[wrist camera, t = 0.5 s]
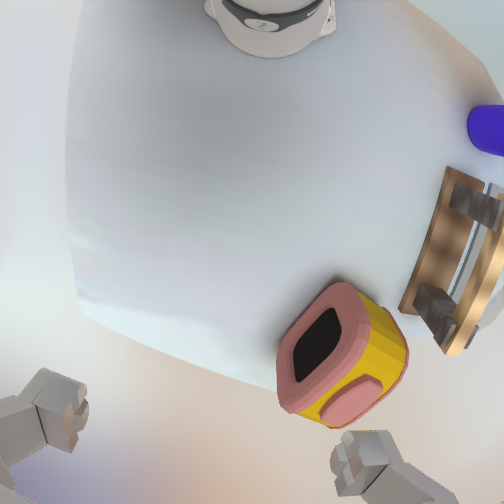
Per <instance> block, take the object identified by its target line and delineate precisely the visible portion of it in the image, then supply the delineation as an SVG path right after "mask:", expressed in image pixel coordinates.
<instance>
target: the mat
mask: <svg viewBox="0 0 504 504" xmlns="http://www.w3.org/2000/svg"><path fill="white" fill-rule="evenodd" d="M499 193H501V194H504V189H502V188H500V187H498V186H496V185H494V184H492V183H490V185H489V189H488V192H487V195H488V196H491V197H493V198H496V199H497V197H498V194H499ZM487 230H488V228H487V227H486V226H484V225H482V224H481V223H479V222H478V225H477V228H476V231H475V234H474V237H473V240H472V243H471V246H470V248H469V251H468V254H467V256H466V259H465V261H464V264H463V266H462V269H461V271H460V274H459V276H458V279H457V281H456V283H455V286H454V288H453V290H452V292H451V295H450V297H451V299H452V300H453V301H454V302H455V303H456V304H458V302H459V300H460V298H461V296H462V293H463V291H464V289H465V287H466V284H467V282H468V280H469V277H470V275H471V273H472V270H473V268H474V265H475V263H476V260H477V257H478V255H479V252H480V250H481V247H482V244H483V241H484V238H485V236H486V233H487Z"/></svg>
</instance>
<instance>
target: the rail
mask: <svg viewBox="0 0 504 504" xmlns="http://www.w3.org/2000/svg"><path fill="white" fill-rule="evenodd" d="M497 199H498V200H500V201H502V202H504V194H501V193H499V194H498V197H497ZM503 266H504V210H503V214H502V217H501V220H500V223H499V226H498V229H497V232H495V231H493V230H491V229H489V228H488V230H487V233H486V236H485V238H484V241H483V244H482V247H481V250H480V252H479V255H478V257H477V260H476V263H475V265H474V268H473V270H472V273H471V275H470V277H469V280H468V282H467V284H466V287H465V289H464V291H463V293H462V296H461V298H460V300H459V302H458V304H457V306H456V308H455V310H454V312H453V315H452V317H451V318H452V319H453V321H454V322H455V323H456V324H457V326H456V328H455V330H454V332H453V333H452V335H451V337H450V339H449V341H448V343H447V344H446V346H445V348H443V347H440V348H441V349H442V351H443V352H444V354H445V355H455V356H459V355H460V353H461V351H462V350H463V348H464V346H465V344H466V343H467V341H468V339H469V337H470V336H471V334H472V332H473V330H474V328H475V326H476V324H477V323H478V321H479V319H480V317H481V315H482V313H483V311H484V309H485V307H486V305H487V302H488V300H489V298H490V296H491V294H492V292H493V289H494V287H495V285H496V283H497V280H498V278H499V276H500V273H501V271H502V268H503Z"/></svg>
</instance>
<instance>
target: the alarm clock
mask: <svg viewBox="0 0 504 504" xmlns="http://www.w3.org/2000/svg"><path fill="white" fill-rule="evenodd" d="M408 359H409V349H408V345H407V342H406V339H405V337H404V335H403V334H402V332H401V330H400V329H399V327H398V325H397V323H396V322H395V320H394V318H393V317H392V315H391V313H390V312H389V311H388V310H387V309H386V308H384V307H380V306H379V305H377V304H376V303H375V302H373V301H372V300H370V299H369V298H367V297H366V296H364V295H363V294H362V293H360V292H359V291H357V290H356V288H355V287H354V286H353V285H352V284H350V283H348V282H338V283H335V284H333V285H332V286H330V287H328V288H327V289H326V290H325V291H324V292H323V293H322V294H321V295H319V297H318V298H317V299H316V300H315V301H314V302H313V304H312V305H311V306H310V307H309V308H308V309H307V310H306V312H305V313H304V314H303V315H302V316H301V317H300V318H299V319H298V321H297V322H296V323H295V324H294V325H293V326H292V327H291V329H290V330H289V331H288V333H287V334H286V335H285V337H284V339H283V341H282V343H281V345H280V348H279V350H278V353H277V360H276V371H277V394H278V399H279V403H280V406H281V407H282V408H284V410H286V411H287V412H288V413H289V414H291V413H295V414H297V415H300V416H302V417H305V418H307V419H310V420H313V421H315V422H318V423H321V424H323V425H326V426H327V427H328V428H330V429H341V428H344V427H346V426H348V425H350V424H352V423H354V422H355V421H356V420H358V419H359V418H360V417H362V416H363V415H364V414H365V413H367V412H368V411H369V410H370V409H372V408H373V407H374V406H375V405H377V404H378V403H379V402H380V401H381V400H382V399H384V398H385V397H386V396H387V395H389V394H390V393H391V392H392V391H393V389H394V388H395V387H396V386H397V385H398V384H399V382H400V381H401V379H402V377H403V375H404V373H405V371H406V369H407V367H408Z"/></svg>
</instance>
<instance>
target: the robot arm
mask: <svg viewBox="0 0 504 504" xmlns="http://www.w3.org/2000/svg"><path fill="white" fill-rule="evenodd" d="M204 9H205V12H206V13H207V14H208V15H209V16H211V17H212V18H213V19H215V20H216V21H217V22H218V24H219V25H220V27H221V29H222V31H223V33H224V35H225V36H226V38H227V39H228V40H229V41H230V42H231V43H232V44H233V45H234V46H235V47H237V48H238V49H240V50H242V51H244V52H246V53H248V54H251V55H254V56H258V57H264V58H279V57H285V56H289V55H292V54H295V53H297V52H299V51H301V50H302V49H304V48H305V47H307V46H308V45H309V44H310V43H311V42H313V41H314V40H316V39H318V38H322V37H326V36H329V35H331V34H333V33H334V32H335V29H336V16H335V0H206V2H205V5H204ZM328 19H329V20H330V21H329V22H327V21H328ZM86 394H87V389H86V385H85V384H83V383H81V382H78V381H75V380H73V379H71V378H68V377H66V376H63V375H61V374H59V373H56V372H53V371H51V370H49V369H46V368H42V369H40V370H39V371H38V372H37V373H36V375H35V376H34V377H33V378H32V380H31V381H30V382H29V383H28V384H27V386H26V387H25V388H24V389H23V391H22V392H21V393H20V394H19V396H18V397H17V396H15V395H13V396H10V397H6V398H3V399H1V400H0V504H37V503H35V502H33V501H31V500H29V499H27V498H26V497H24V496H22V495H20V494H18V493H16V492H15V491H13V489H14V487H15V481H14V479H13V477H12V475H11V474H10V472H9V470H8V467H10V466H11V465H13V464H15V463H17V462H19V461H20V460H22V459H24V458H26V457H28V456H30V455H31V454H33V453H35V452H37V451H38V450H40V449H42V448H44V447H46V446H47V444H48V445H51V446H53V447H56V448H58V449H61V450H63V451H66V452H68V453H72V451H73V449H74V447H75V445H76V443H77V441H78V435H77V432H79V431H81V430H83V429H84V427H85V425H86V422H87V418H88V414H89V405H88V402H87V401H86V400H85V396H86ZM341 440H342V443H340V444H339V445H337V446H335V448H334V450H333V452H332V454H331V458H330V467H331V471H332V472H333V473H334V474H335V475H336V476H337V478H336V480H335V481H334V482H335V486H336V490H337V493H338V496H339V497H340V496H358V495H361V497H362V498H363V499H364V500H365V501H366V502H367V503H368V504H459V502H458V501H457V499H456V497H455V495H454V493H452V492H451V491H449V490H448V489H446V488H445V487H443V486H441V485H440V484H438V483H437V482H435V481H434V480H433V479H431V478H430V477H428V476H427V475H425V474H424V473H422V472H421V471H419V470H418V469H416V468H415V467H413V466H412V465H411V464H409V463H404V461H403V459H402V456H401V455H400V452H399V450H398V448H397V446H396V444H395V442H394V440H393V438H392V436H391V434H390V432H389V431H387V430H374V431H372V430H369V431H346V432H345V433H344V434H343V436H342V437H341ZM499 504H504V501H503V502H501V503H499Z"/></svg>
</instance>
